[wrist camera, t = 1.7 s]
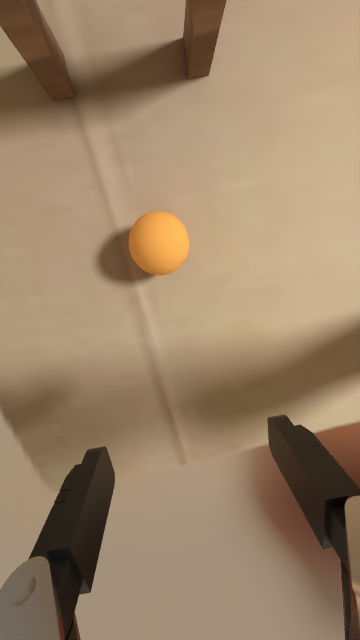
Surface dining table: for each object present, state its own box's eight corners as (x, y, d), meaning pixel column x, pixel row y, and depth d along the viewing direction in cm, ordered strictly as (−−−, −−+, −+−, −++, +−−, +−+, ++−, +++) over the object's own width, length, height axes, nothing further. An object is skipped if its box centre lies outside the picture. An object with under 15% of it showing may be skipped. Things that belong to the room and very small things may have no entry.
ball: (189, 268, 26) (196, 271, 20) (139, 277, 25) (131, 282, 20) (181, 213, 24) (186, 199, 18) (127, 222, 24) (115, 210, 18)
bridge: (208, 74, 21) (243, -76, 11) (52, 99, 20) (-42, -34, 11) (204, 33, 20) (239, -166, 10) (42, 58, 20) (-70, -122, 10)
